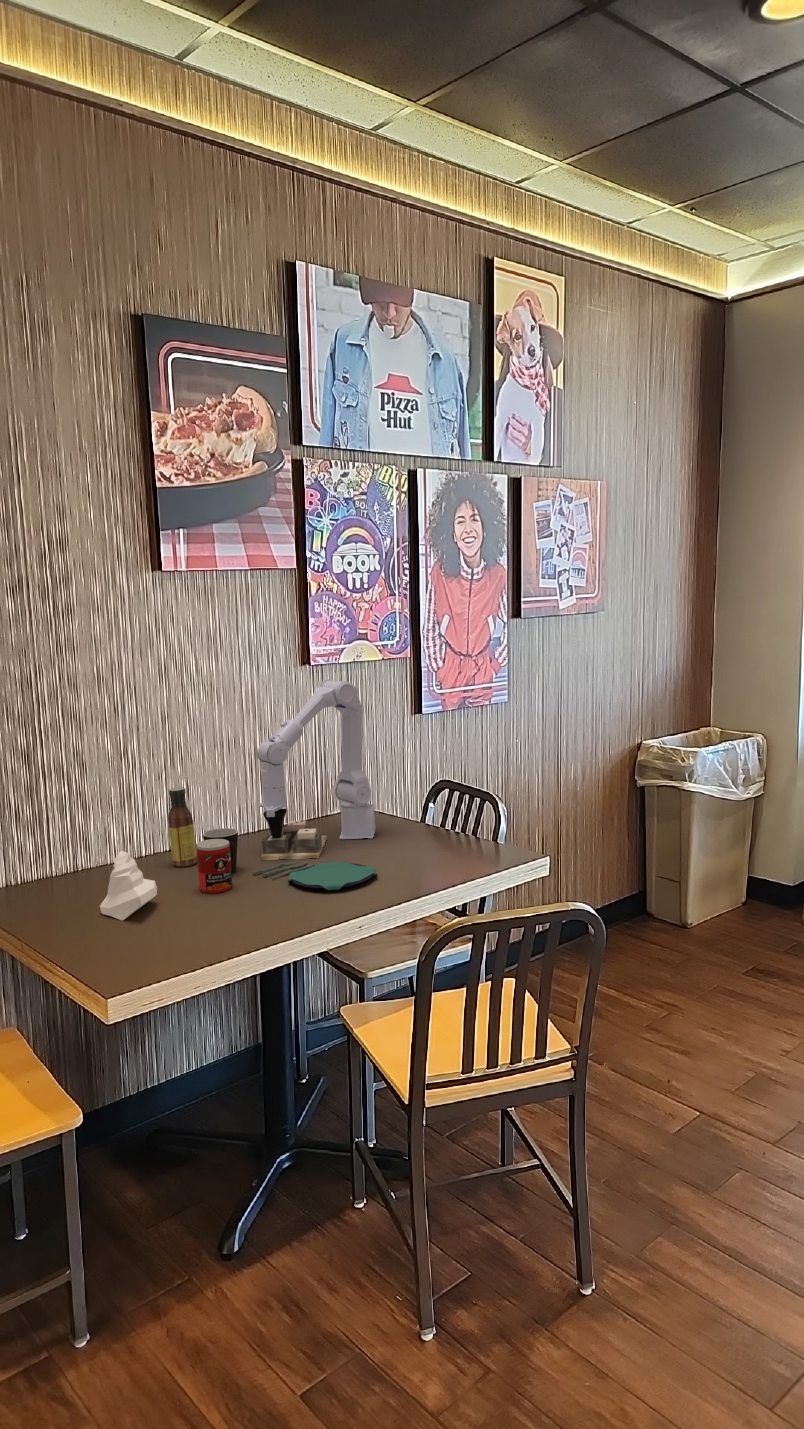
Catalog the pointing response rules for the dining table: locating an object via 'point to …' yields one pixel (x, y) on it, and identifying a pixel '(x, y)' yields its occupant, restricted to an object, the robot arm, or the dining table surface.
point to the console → (292, 846)
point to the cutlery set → (324, 874)
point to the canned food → (214, 865)
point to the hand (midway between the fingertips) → (276, 837)
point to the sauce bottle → (181, 830)
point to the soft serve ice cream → (126, 888)
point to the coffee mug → (227, 835)
